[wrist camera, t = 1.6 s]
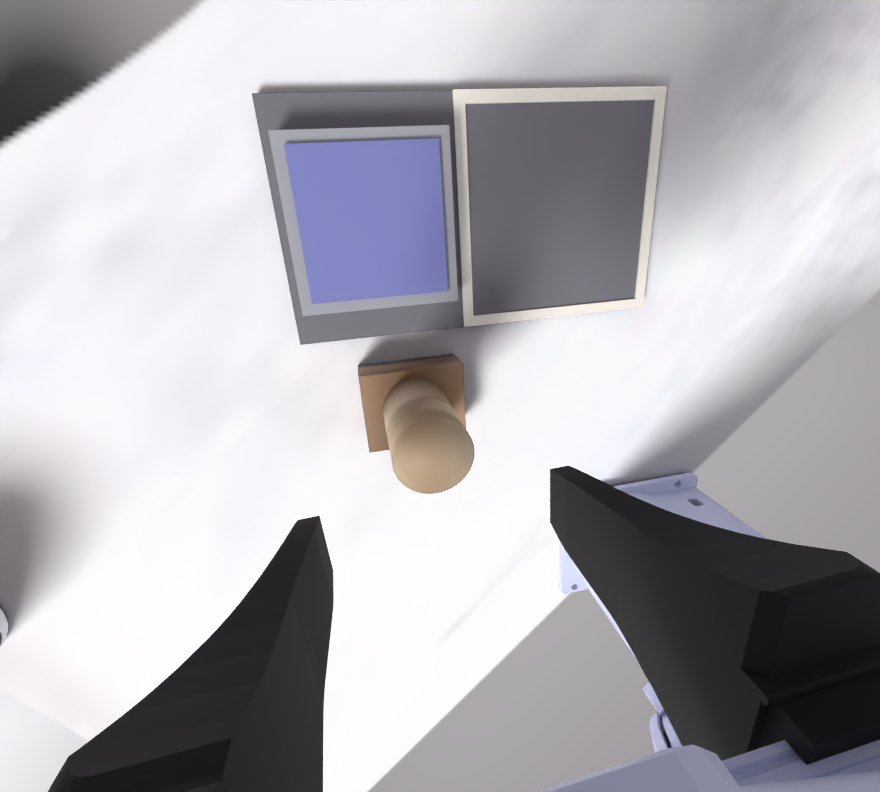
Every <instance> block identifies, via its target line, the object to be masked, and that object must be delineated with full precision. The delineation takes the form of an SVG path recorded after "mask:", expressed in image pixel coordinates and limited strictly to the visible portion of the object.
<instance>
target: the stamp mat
mask: <svg viewBox="0 0 880 792" xmlns="http://www.w3.org/2000/svg"><path fill="white" fill-rule="evenodd" d="M666 91H667V86H635V87H572V88H508V89H453V90H432V91H370V92H308V93H252V97H253V102H254V107H255V112H256V117H257V123H258V128H259V133H260V138H261V143H262V148H263V154H264V159H265V164H266V169H267V174H268V179H269V185H270V190H271V195H272V200H273V205H274V210H275V216H276V221H277V226H278V231H279V236H280V241H281V247H282V252H283V257H284V262H285V267H286V272H287V277H288V283H289V288H290V293H291V298H292V303H293V308H294V314H295V319H296V324H297V329H298V334H299V339H300V345H302V344H311V343H320V342H329V341H338V340H347V339H357V338H366V337H375V336H384V335H393V334H402V333H411V332H420V331H429V330H438V329H448V328H457V327H470V326H479V325H488V324H497V323H506V322H515V321H524V320H533V319H542V318H551V317H561V316H570V315H579V314H588V313H597V312H606V311H615V310H624V309H633V308H642V307H643V304H644V295H645V286H646V276H647V267H648V258H649V249H650V239H651V230H652V221H653V211H654V202H655V193H656V184H657V174H658V165H659V156H660V146H661V137H662V128H663V119H664V109H665V100H666Z"/></svg>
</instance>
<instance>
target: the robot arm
mask: <svg viewBox="0 0 880 792" xmlns="http://www.w3.org/2000/svg"><path fill="white" fill-rule="evenodd" d="M696 485H697V477H696V475H694V474H693V473H683V474H678V475H672V476H667V477H661V478H656V479H651V480H645V481H640V482H634V483H629V484H623V485H618V486H613V487H612V486H610V485H608V484H606V483H604V482H602V481H600V480H598V479H596V478H594V477H592V476H590V475H588V474H586V473H584V472H581V471H579V470H577V469H575V468H573V467H570V466H565V467H560V468H555V469H550V522H551V524H552V526H553V528H554V530H555V532H556V534H557V536H558V538H559V540H560V542H561V552H560V574H559V588H560V590H561V592H562V593H564V594H567V593H572V592H576V591H581V590H585V589H589V590H590V592H591V593H592V595H593V596H594V598H595V599H596V601H597V602H598V603H599V605H600V606H601V608H602V609H603V611H604V612H605V614H606V615H607V617H608V618H609V620H610V621H611V622H612V624H613V625H614V627H615V628H616V630H617V631H618V633H619V634H620V636H621V637H622V639H623V640H624V642H625V643H626V644H627V646H628V647H629V649H630V650H631V652H632V653H633V655H634V656H635V657H636V659H637V661H638V662H639V664H640V666H641V668H642V670H643V671H644V673H645V675H646V677H647V679H648V681H649V682H648V683H647V684H646V686H645V687H644V688H643V690H644V692H645V694H646V695H647V697H648V698H649V700H650V701H651V702H652V704H653V706H654V707H655V709H656V710H657V713H655V714H654V715H653V716H652V718H651V719H650V733H651V737H652V741H653V747H654V752H655V753H653V754H649V755H646V756H643V757H640V758H637V759H634V760H631V761H628V762H625V763H622V764H619V765H615V766H612V767H609V768H606V769H603V770H600V771H597V772H594V773H591V774H588V775H584V776H582V777H578V778H575V779H572V780H569V781H566V782H563V783H560V784H557V785H553V786H550V787H547V788H545V789H543V790H541V791H539V792H880V573H878V572H877V571H876V570H874V569H872V568H871V567H869V566H868V565H866V564H865V563H863V562H862V561H860V560H859V559H857V558H855V557H854V556H852V555H850V554H849V553H847V552H843V551H836V550H829V549H822V548H815V547H809V546H802V545H795V544H789V543H784V542H779V541H774V540H769V539H767V538H765V537H764V536H762V535H761V534H760V533H758V532H757V531H755V530H754V529H753V528H751V527H750V526H748V525H747V524H745V523H744V522H743V521H741V520H740V519H739V518H737V517H736V516H734V515H733V514H732V513H730V512H729V511H727V510H726V509H725V508H723V507H722V506H720V505H719V504H718V503H716V502H715V501H713V500H712V499H711V498H709V497H708V496H706V495H705V494H704V493H702V492H701V491H699V490H698V489H697V488H696ZM332 612H333V569H332V565H331V561H330V557H329V553H328V549H327V545H326V541H325V537H324V533H323V529H322V525H321V521H320V517H319V516H317V517H312V518H307V519H302V520H298V521H297V522H296V523H295V525H294V526H293V528H292V529H291V531H290V533H289V534H288V536H287V537H286V539H285V541H284V542H283V544H282V545H281V547H280V548H279V550H278V551H277V553H276V555H275V556H274V557H273V559H272V560H271V562H270V563H269V565H268V566H267V568H266V569H265V571H264V572H263V573H262V575H261V576H260V578H259V579H258V580H257V582H256V583H255V584H254V586H253V587H252V588H251V590H250V591H249V592H248V593H247V595H246V596H245V597H244V599H243V600H242V601H241V603H240V604H239V605H238V606H237V607H236V609H235V610H234V611H233V612H232V613H231V615H230V616H229V617H228V618H227V619H226V620H225V621H224V622H223V624H222V625H221V626H220V627H219V628H218V629H217V630H216V631H215V632H214V633H213V634H212V635H211V637H210V638H209V639H208V640H207V641H205V642H204V643H203V644H202V645H201V646H200V647H199V648H198V649H197V650H196V651H195V652H194V653H193V654H192V655H191V656H190V657H189V658H188V659H187V660H186V661H185V662H184V663H183V664H182V665H181V666H180V667H179V668H178V669H177V670H176V671H175V672H174V673H172V674H171V675H170V676H169V677H168V678H167V679H166V680H165V681H163V682H162V683H161V684H160V685H159V686H158V687H157V688H155V689H154V690H153V691H152V692H151V693H150V694H148V695H147V696H146V697H145V698H144V699H142V700H141V701H140V702H139V703H138V704H137V705H135V706H134V707H133V708H132V709H130V710H129V711H128V712H127V713H125V714H124V715H123V716H122V717H120V718H119V719H118V720H116V721H115V722H114V723H113V724H111V725H110V726H109V727H107V728H106V729H105V730H103V731H102V732H101V733H100V734H98V735H97V736H96V737H94V738H93V739H92V740H90V741H89V742H88V743H86V744H85V745H84V746H83V747H81V748H80V749H78V750H77V751H76V752H74V753H73V754H72V755H70V756H69V757H68V758H67V760H66V762H65V763H64V765H63V767H62V768H61V771H60V772H59V774H58V775H57V777H56V779H55V780H54V782H53V784H52V785H51V787H50V789H49V791H48V792H323V704H324V688H325V677H326V668H327V659H328V650H329V641H330V631H331V622H332Z"/></svg>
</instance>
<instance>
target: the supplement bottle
mask: <svg viewBox="0 0 880 792" xmlns="http://www.w3.org/2000/svg"><path fill="white" fill-rule="evenodd" d="M7 633H8V622H7V619H6V616H5V614H4V613H3V611H2V610H1V609H0V647H1V645H2V644H3V642H4V640H5V639H6V636H7Z"/></svg>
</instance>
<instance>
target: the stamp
mask: <svg viewBox="0 0 880 792" xmlns="http://www.w3.org/2000/svg"><path fill="white" fill-rule="evenodd" d="M358 376H359V383H360V390H361V397H362V404H363V411H364V418H365V424H366V431H367V438H368V445H369V452H376V451H383V450H389V449H390V454H391V460H392V465H393V470H394V472H395V475H396V476H397V478H398V479H399V481H400V482H401V483H402V484H403V485H405V486H406V487H407V488H409V489H411V490H413V491H416V492H420V493H426V494H432V493H439V492H443V491H445V490H448V489H450V488H452V487H454V486H455V485H457V484H458V483H459V482H461V481H462V480H463V479H464V477H465V476H466V475H467V474H468V472H469V470H470V468H471V466H472V463H473V460H474V445H473V442H472V439H471V437H470V436H469V434H468V432H467V431H466V423H465V403H464V383H463V364H462V363H461V362H460V361H459V359H458V358H457V357H456V356H455V355H454V354H448V355H440V356H431V357H423V358H415V359H406V360H398V361H390V362H381V363H373V364H365V365H358Z"/></svg>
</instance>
